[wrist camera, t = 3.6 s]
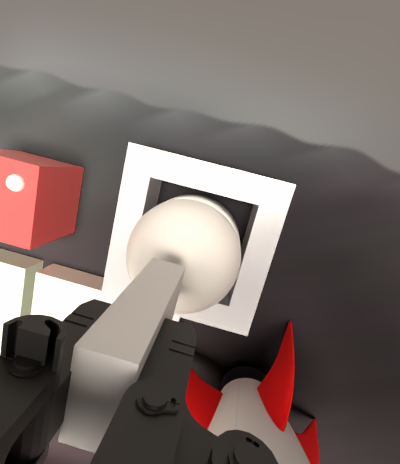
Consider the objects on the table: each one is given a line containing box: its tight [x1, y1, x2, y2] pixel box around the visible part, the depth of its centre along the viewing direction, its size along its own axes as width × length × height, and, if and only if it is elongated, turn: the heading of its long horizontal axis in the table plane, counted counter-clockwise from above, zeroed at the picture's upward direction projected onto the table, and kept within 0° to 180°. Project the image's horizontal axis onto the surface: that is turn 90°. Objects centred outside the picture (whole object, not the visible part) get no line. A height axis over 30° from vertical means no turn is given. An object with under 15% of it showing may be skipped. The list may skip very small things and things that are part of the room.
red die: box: [0, 149, 84, 250], centre depth 23 cm, size 7×7×7 cm
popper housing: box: [101, 142, 296, 336], centre depth 23 cm, size 12×12×4 cm
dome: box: [126, 194, 241, 314], centre depth 19 cm, size 7×7×8 cm
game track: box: [0, 248, 181, 351], centre depth 28 cm, size 27×13×2 cm, turn 76°
